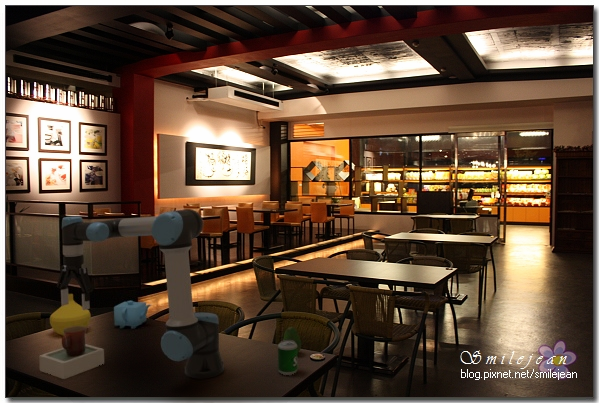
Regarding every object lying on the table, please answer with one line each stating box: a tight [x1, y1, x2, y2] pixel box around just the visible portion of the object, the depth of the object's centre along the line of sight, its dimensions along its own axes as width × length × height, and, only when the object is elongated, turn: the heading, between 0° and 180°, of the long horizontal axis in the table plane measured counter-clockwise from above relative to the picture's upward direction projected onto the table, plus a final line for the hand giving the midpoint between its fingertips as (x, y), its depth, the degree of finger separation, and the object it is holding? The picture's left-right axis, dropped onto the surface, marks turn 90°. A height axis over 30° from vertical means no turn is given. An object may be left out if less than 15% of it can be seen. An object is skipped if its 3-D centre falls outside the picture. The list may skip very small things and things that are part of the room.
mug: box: [61, 326, 88, 356], centre depth 202 cm, size 12×9×10 cm
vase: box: [49, 293, 92, 337], centre depth 247 cm, size 18×18×19 cm
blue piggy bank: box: [113, 300, 152, 329], centre depth 257 cm, size 18×16×13 cm
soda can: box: [277, 340, 298, 376], centre depth 196 cm, size 8×8×12 cm
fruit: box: [282, 326, 302, 354], centre depth 215 cm, size 8×8×12 cm
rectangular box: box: [38, 343, 105, 380], centre depth 203 cm, size 16×18×6 cm
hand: (75, 307), depth 203 cm, fingers open, 13 cm apart
